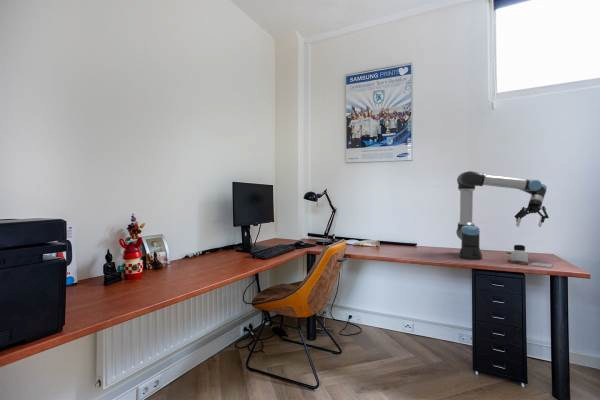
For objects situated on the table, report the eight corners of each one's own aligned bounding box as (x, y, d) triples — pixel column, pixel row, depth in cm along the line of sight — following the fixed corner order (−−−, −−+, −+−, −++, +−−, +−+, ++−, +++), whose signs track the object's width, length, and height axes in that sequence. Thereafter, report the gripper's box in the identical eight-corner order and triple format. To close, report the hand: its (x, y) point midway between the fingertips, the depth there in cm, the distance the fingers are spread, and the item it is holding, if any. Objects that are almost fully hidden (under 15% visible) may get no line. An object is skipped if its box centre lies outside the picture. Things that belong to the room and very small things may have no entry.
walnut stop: (507, 262, 204) (507, 259, 203) (507, 262, 204) (507, 259, 204) (527, 265, 195) (527, 262, 195) (527, 265, 196) (527, 261, 196)
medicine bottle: (528, 263, 199) (528, 246, 199) (516, 263, 201) (516, 245, 201) (522, 261, 206) (522, 244, 206) (511, 261, 208) (511, 244, 208)
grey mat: (530, 265, 195) (530, 264, 195) (534, 263, 201) (533, 262, 201) (550, 267, 187) (550, 267, 187) (553, 265, 194) (553, 264, 194)
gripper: (559, 204, 207) (551, 229, 200) (518, 206, 229) (511, 228, 222) (554, 197, 205) (547, 222, 197) (514, 200, 226) (506, 222, 219)
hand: (528, 225), depth 209 cm, fingers open, 13 cm apart
